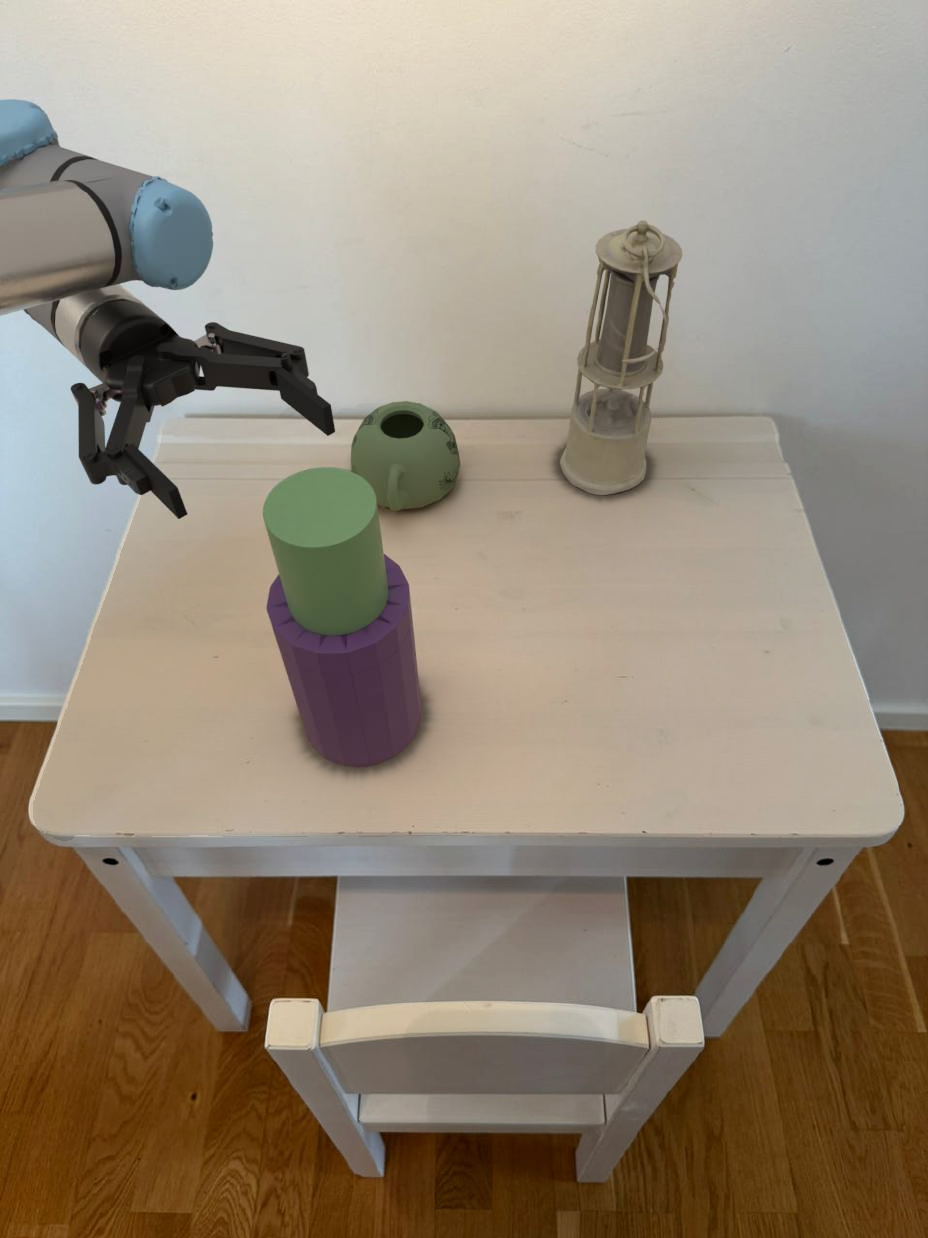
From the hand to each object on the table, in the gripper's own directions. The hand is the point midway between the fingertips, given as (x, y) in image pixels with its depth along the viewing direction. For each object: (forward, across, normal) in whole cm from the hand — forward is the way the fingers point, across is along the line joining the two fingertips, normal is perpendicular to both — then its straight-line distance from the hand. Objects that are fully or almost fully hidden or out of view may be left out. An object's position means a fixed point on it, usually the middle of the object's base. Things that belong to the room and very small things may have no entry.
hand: (257, 460), depth 65 cm
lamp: (+1, -42, -27) cm, 50 cm away
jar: (+8, 0, -27) cm, 28 cm away
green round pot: (-13, -23, -27) cm, 38 cm away
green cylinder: (+8, 0, -9) cm, 12 cm away
